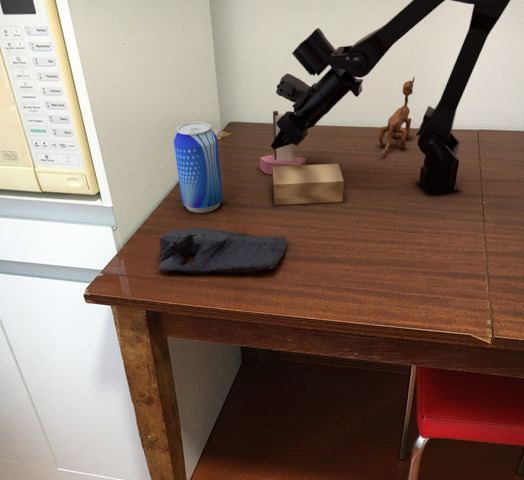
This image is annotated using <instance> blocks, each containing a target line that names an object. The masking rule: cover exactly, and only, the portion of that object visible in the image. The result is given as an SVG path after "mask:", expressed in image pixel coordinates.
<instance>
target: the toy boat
mask: <svg viewBox="0 0 524 480" xmlns="http://www.w3.org/2000/svg"><path fill="white" fill-rule="evenodd" d="M283 115H284V114H283V113H282V114H281V113H279V111H278V110H273V111H272V124H273V125H272V126H273V127H272V129H273V140H274V139H275V138H276V136H277V134H278V133H279V131H280V128H279V127H278V126H277V124H276V122H277V121H278V120H279V119H280V118H281V117H282V116H283ZM294 147H295V145H294V144H290V145H287V146H284V147H281V148H277V149H273V154H269V155H264V156H261V157H259V164H260V165H259V166H260V171H262V172H263V173H265V175H272V176H273V167H281V166H301V165H307V163H306V160H307V159H306V157H299V156H298V157H297V156H295V154H294V153H295V149H294Z"/></svg>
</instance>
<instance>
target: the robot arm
mask: <svg viewBox="0 0 524 480" xmlns="http://www.w3.org/2000/svg"><path fill="white" fill-rule="evenodd" d="M445 1H446V0H411V1H410V2H409V3H408V4H406V5H405V6H404V7H403V8H402V9H401V10H400V11H398V13H396V15H394V16H393V17H392V18H391V19H390V20H389V21H387V22H386V23H385V24H384V25H382V26H381V27H379V28H377V29H375V30H373V31H372V32H370V33H368V34H366V35H365V36H364V37H362V38H360V39H359V40H357V41H356V42H355V43H354V44H351V45H345V46H343V45H342V46H338V47H337V48H335V47H334V46H333V44H331V42H330V41H329V40H328V38H326V37H327V36H325V34H324V32H323V31H322V30H321V28H319V27H317V28H315V29H314V30H313V32H311V33H310V35H309V36H307V37H306V39H304V40H302V41H301V42H300V43H299V44H298V46H296V48H295V49H294V50H293V51H292V52H291V55H292V56H293V57H294V58H295V59H296V60H297V62H298V63H299V64H300V65H301V66H302V67H303V68H304V70H305V71H306V72H307V73H308V74H309V76H313V77H315V76H316V75H317V77H319V76H320V75H321V74H322V73H323V72H324V71H325V70H326V69H327V68H328V67H330V69H328V71H327V72H326V73H325V74H324V75H323V76H322V77H320V79H319V80H318V81H317V82H314V83H313V84H312V85H309V84H307V83H306V82H305V81H303V80H302V79H300V78H297V77H296V76H295V75H292V74H290V73H285V74H284V75H282V77H281V78H280V81H279V83H278V84H277V85H276V90H275V94H276V95H277V96H279V97H282V98H284V99H286V100H288V101H289V102H291V103H293V104H292V105H291V106H292V108H293V111H290V110H287V111H285V112H284V114H282V115H283V116H282V117H281V118H280V119H279V120H278V121H277V122H276V124H277V126H278V127H279V128H280V131H279V133H278V134H277V136H276V138H275V139H274V138H273V141H272V143H271V145H270V147H271V149H273V150H274V149H277V148H281V147H284V146H287V145H290V144H294V146H295V147H296V146H298V145H300V143H301V142H303V141H304V139H305V138H306V137H307V136H308V134H309V132H308V131H309V130H308V129H310V128H313V127H314V126H316V125H317V124H318V122H320V120H322V118H323V117H324V116H325V115H327V114H328V113H329V112H330V111H331V110H332V109H333V108H334V107H335V106H336V105H337V104H338V103H339V102H340V101H341V100H342V99H343V98H344V97H345V96H346V95H347V94H348V93H349V92H351V93H352V94H353V95H354V97H356V98H357V97H359V96H360V95H361V93H362V92H363V83H364V79H363V78H365V77H366V76H367V75H369V74H370V73H371V71H372V70H373V69H374V68H375V67H376V65H378V63H379V62H380V61H381V60H382V58H383V57H384V56H385V55H386V53H387V52H388V51H390V49H391V48H392V46H393V45H394V44H396V43H397V42H398V41H399V40H400V39H401V38H403V37H404V36H405V35H406V34H407V33H408V32H410V31H411V30H412V29H414V27H416V26H417V25H418V24H419V23H420V22H422V20H424V19H425V18H426V17H427V16H428V15H430V14H431V13H432V12H433V11H435V9H437V8H438V7H439V6H440V5H442V4H443V3H444V2H445ZM451 1H452V2H457V3H462V4H467V5H473V8H472V12H471V17H470V20H469V21H470V22H469V26H468V30H467V32H466V35H465V38H464V40H463V42H462V45H461V48H460V50H459V53H458V54H457V57H456V60H455V62H454V65H453V67H452V69H451V72H450V75H449V76H448V80H447V82H446V84H445V86H444V89H443V91H442V94H441V97H440V99H439V101H438V102H437V104H436V106H435V107H432V106H431V105H428V106H427V108H426V110H425V113H424V114H423V118H422V122H421V123H420V125H419V128H418V129H417V131H416V134H415V135H416V137H417V136H418V140H417V146H418V148H419V151H420V152H421V153H422V154H424V157H423V164H422V165H421V166H420V173H419V180H417V185H418V186H420V188H422V189H423V190H424V192H426V193H427V194H428V195H429V196H433V195H441V194H448V193H456V192H459V188H458V187H457V186H456V183H457V175H458V171H459V164H460V159H459V158H458V157H457V156H458V153H459V149H460V146H461V142H460V140H459V139H458V138H457V137H456V136H455V135H454V134H453V132H452V131H453V128H454V124H455V120H456V114H457V110H458V106H459V104H460V102H461V99H462V97H463V95H464V93H465V90H466V89H467V88H466V87H467V85H468V83H469V81H470V78H471V76H472V74H473V71H474V69H475V68H476V65H477V62H478V60H479V57H480V55H481V53H482V50H483V48H484V46H485V44H486V41H487V40H488V37H489V35H490V34H491V31H492V30H493V29H494V28H495V26H496V24H497V23H498V21H499V20H500V18H501V17H502V15H503V13H504V12H505V10H506V8H507V7H508V5H509V3H510V2H511V0H451Z"/></svg>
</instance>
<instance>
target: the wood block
mask: <svg viewBox="0 0 524 480" xmlns="http://www.w3.org/2000/svg"><path fill="white" fill-rule="evenodd" d="M343 177H344V176H343V174H342V171H341V167H340V164H339V163H323V164H321V163H320V164H306V165H301V166H281V167H273V175H272V185H273V186H272V188H273V189H272V190H273V201H274V206H280V205H283V206H284V205H301V204H304V205H305V204H320V203H322V204H323V203H324V204H325V203H341V202H344V183H345V181H344V180H345V179H344V178H343Z"/></svg>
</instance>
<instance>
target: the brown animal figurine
mask: <svg viewBox="0 0 524 480" xmlns="http://www.w3.org/2000/svg"><path fill="white" fill-rule="evenodd" d="M414 82H415V76H413V78H412V79H411V80H408V81H405V82H404V83H403V85H402V94H403V95H404V103H403V106H401V107H399V108H397V110H396V111H395V112H394V113H393V114H392V115H391V116H390V117H389V118H388V120H387V125H385V126H383V127H381V128H380V129H379V132H378V141H379V144H380V146H383V145H384V140H383V139H384V136H385V134H386V132H388V137H387V141H386V145H385V146H384V147H385V148H384V149H383V150H382V151H381V153H380V154H381V155H382V156H383V155H385V154H386V153H387V152H388V150H389V149H390V146H391V143H392V139H393V138H398V135H397V134H401V139H400V146H401V149H404V148H405V147H406V146H407V145H406V139H407V140H409V139H410V138H411V136H410V131H411V123H412V118H411V117H409V115H410V113H411V111H410V108H409V107H408V103H409V97H410V96H411V95H413V93H414V91H413V90H414V89H413V88H414ZM404 124H405V128H404V127H402V126H403V125H404Z"/></svg>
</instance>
